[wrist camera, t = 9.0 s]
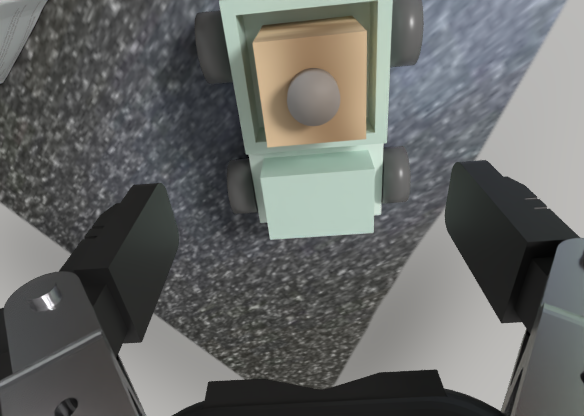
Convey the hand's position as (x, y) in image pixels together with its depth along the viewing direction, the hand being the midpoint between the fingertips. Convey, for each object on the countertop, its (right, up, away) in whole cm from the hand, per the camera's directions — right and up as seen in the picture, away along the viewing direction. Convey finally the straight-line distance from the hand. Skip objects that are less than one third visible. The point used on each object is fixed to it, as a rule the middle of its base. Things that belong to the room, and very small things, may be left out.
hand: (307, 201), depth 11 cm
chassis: (+1, +7, +16) cm, 18 cm away
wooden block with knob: (+1, +8, +12) cm, 14 cm away
